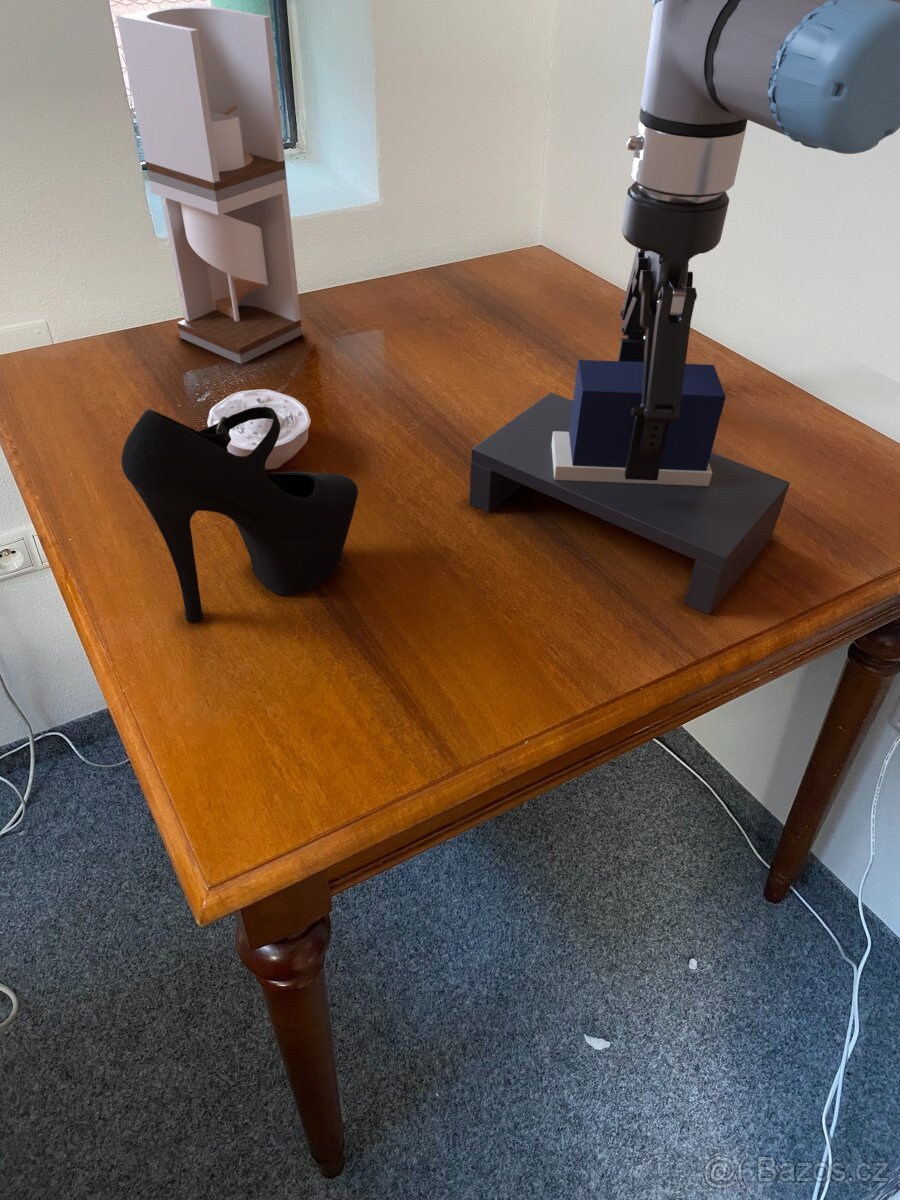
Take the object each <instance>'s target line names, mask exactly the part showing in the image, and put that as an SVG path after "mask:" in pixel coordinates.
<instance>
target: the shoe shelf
mask: <svg viewBox="0 0 900 1200" xmlns="http://www.w3.org/2000/svg"><path fill="white" fill-rule="evenodd" d="M572 405H573V399H570V398H567V397H564V396H561V395H558V393H557V394H556V393H554V392H549V393H548V394H546V395H544V396H543V397H542V398H541V399H539V400H538V401H536V402H535V403H533V404H532V405H531V406H529V407H528V408H527V409H525V410H524V411H522V412H521V413H520V414H518V415H517V416H515V417H514V418H513V419H511V420H509V422H507V423H505V424H504V425H503V426H501V427H500V428H498V429H497V430H495V431H494V432H493V433H492V434H490V435H488V436H487V437H486V438H484V439H483V440H482V441H480V442H479V443H477V444H476V445H474V446H473V447H472V448H471V454H470V473H469V474H470V476H469V496H468V497H469V500H468V504H469V505H470V506H472V507H475V508H477V509H479V510H481V511H483V512H485V513H488V514H489V513H490V512H492V511H493V510H494V509H495V508H496V507H498V506H499V505H500V504H501V503H503V502H504V501H505V500H506V499H508V498H509V497H510V496H511V495H512V494H514V493H515V492H516V491H518V490H519V489H520V488H522V487H523V486H526V487H528V488H530V489H533V490H535V491H537V492H539V493H542V494H544V495H547V496H548V497H551V498H553V499H555V500H557V501H560V502H563V503H565V504H567V505H570V506H572V507H574V508H576V509H578V510H580V511H582V512H584V513H587V514H589V515H592V516H594V517H597V518H599V519H601V520H602V521H603V520H604V521H605V522H608V523H610V524H612V525H615V526H617V527H620V528H621V529H624V530H626V531H629V532H631V533H634V534H636V535H637V536H639V537H642V538H644V539H647V540H649V541H651V542H653V543H656V544H658V545H661V546H663V547H665V548H667V549H670V550H672V551H674V552H676V553H679V554H681V555H684V556H685V557H688V558H690V559H693V560H695V562H694V566H693V569H692V573H691V577H690V579H689V580H690V581H689V584H688V588H687V591H686V595H685V599H684V602H683V604H684V605H686V606H688V607H690V608H692V609H694V610H696V611H699V612H700V613H703V614H705V615H707V616H710V615H711V613H712V612H713V611H714V610H715V608H717V606H718V605H719V603H720V602H721V601H722V600H723V599H724V597H725V596H726V595H727V594H728V592H729V591H730V590H731V588H733V586H734V585H735V584H736V582H737V581H738V580H739V579H740V577H741V576H742V575H743V574H744V572H745V571H746V570H747V569H748V568H749V567H750V565H751V564H752V563H753V562H754V560H755V559H756V557H757V556H758V555H759V554H760V553H761V551H763V549H764V548H765V546H766V545H768V543H769V542H770V540H771V539H772V537H773V534H774V532H775V528H776V526H777V522H778V519H779V517H780V513H781V511H782V508H783V505H784V502H785V499H786V495H787V493H788V490H789V487H790V485H791V482H790V481H788V480H786V479H782V478H780V477H777V476H775V475H772V474H769V473H767V472H764V471H761V470H759V469H756V468H753V467H751V466H748V465H746V464H742V463H740V462H737V461H735V460H732V459H729V458H727V457H725V456H722V455H719V454H716V453H715V452H711V455H710V459H709V464H710V467H711V470H712V476H711V480H710V483H709V486H690V485H666V484H641V483H617V482H592V481H568V480H554V470H553V457H552V445H551V444H552V435H553V431H560V432H569V428H570V421H571V413H572Z"/></svg>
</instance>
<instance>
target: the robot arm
mask: <svg viewBox="0 0 900 1200" xmlns="http://www.w3.org/2000/svg"><path fill="white" fill-rule="evenodd" d="M652 7H653V12H652V19H651V25H650V26H651V27H650V34H649V41H648V50H647V56H646V64H645V70H644V78H643V79H644V80H643V86H642V92H641V100H640V109H639V110H640V111H639V117H638V119H639V121H638V125H637V130H638V134H636V135H630V136H628V138H627V141H626V148H627V150H629V151H632V152H633V151H634V152H633V156H632V157H633V158H632V163H631V164H632V165H631V171H630V176H631V179H632V180H633V183H632V184H631V185H630V186H629V187H628V189H627V192H626V200H625V205H624V211H623V212H624V213H623V217H622V218H623V219H622V226H621V233H622V236H623V238H624V239H625V241H626V242H627V243H628V244H630V245H631V246H633V247H635V248H636V250H635V255H634V257H633V258H634V259H633V262H632V267H631V269H630V270H631V271H630V275H629V279H628V283H627V287H626V291H625V295H624V299H623V304H622V307H621V310H620V313H619V316H620V320H621V321H623V323H622V325H621V328H620V330H621V333H622V334H621V335H622V336H625V338H623V337H621V339H620V344H619V351H618V357H617V361H626V362H644V365H643V381H642V396H641V405H640V407H634V408H632V409H631V415H632V416H635V420H634V426H633V431H632V437H631V442H630V447H629V453H628V458H627V464H626V469H625V479H632V480H657V479H658V474H659V469H660V465H661V460H662V456H663V451H664V446H665V442H666V437H667V432H668V428H669V423H670V422H677V421H678V420H679V417H680V405H681V396H682V388H683V380H684V372H685V364H687V362H686V361H687V355H688V347H689V340H690V330H691V323H692V317H693V313H694V309H695V303H696V301H697V298H698V293H697V289H696V287H693V282H694V272H693V271H689V266H690V265H689V262H690V260H691V259H692V258H694V257H696V256H697V255H700V254H705V253H709V252H711V251H713V250H714V249H715V248H716V247H717V246H718V245H719V244H720V243H721V239H722V236H723V235H722V234H723V231H724V226H725V222H726V217H727V213H728V208H729V204H730V198H729V196H728V193H727V191H729V190H730V189H731V188H732V187H734V185H735V181H736V176H737V172H738V168H739V162H740V158H741V153H742V149H743V145H744V141H745V140H744V139H745V135H746V131H747V124H748V121H750V122H752V123H754V124H757V125H759V126H762V127H764V128H767V129H768V130H771V131H774V132H776V133H779V134H781V135H784V136H786V137H788V138H790V140H791V141H793V142H795V143H800V144H801V145H802V146H804V147H806V148H811V149H823V150H827V151H831V152H834V153H838V154H843V155H855V154H861V153H864V152H867V151H870V150H872V149H873V148H875V147H877V146H878V145H879V143H880V141H882V140H883V139H885V138H887V137H889V136H891V135H894V134H895V133H896V132H897V131H898V130H900V0H652ZM644 336H645V339H644Z"/></svg>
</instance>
